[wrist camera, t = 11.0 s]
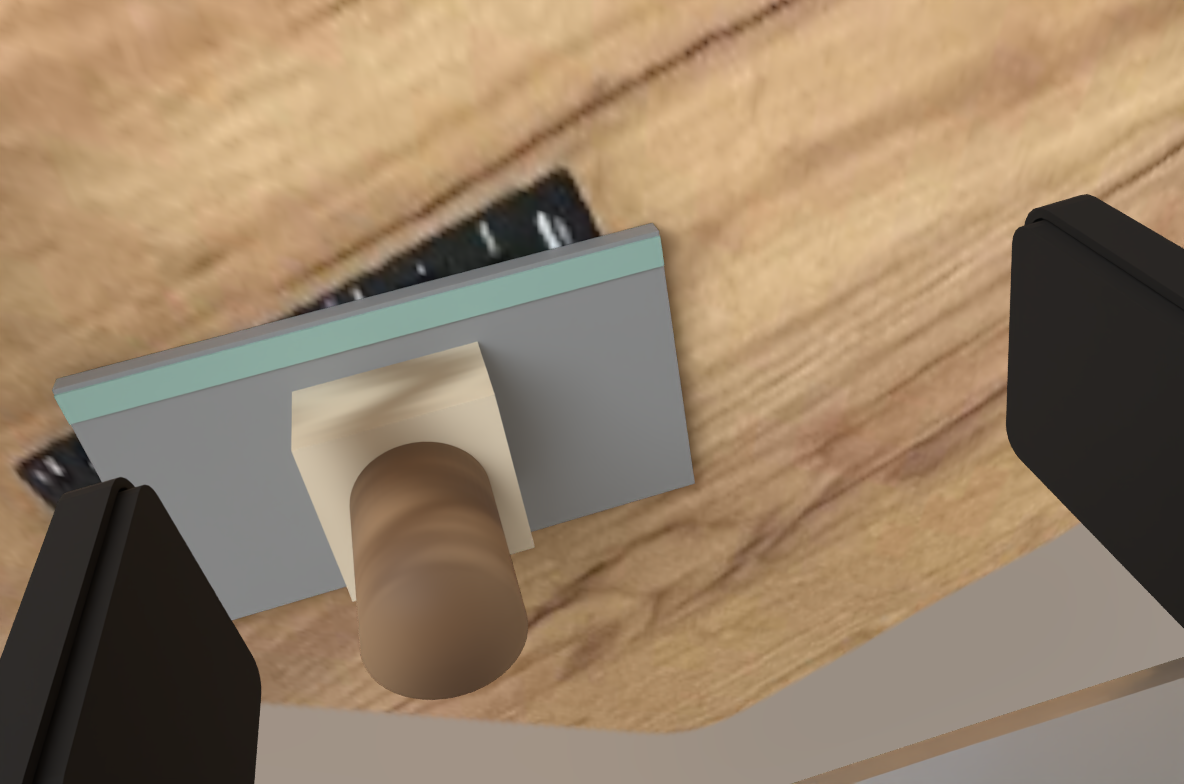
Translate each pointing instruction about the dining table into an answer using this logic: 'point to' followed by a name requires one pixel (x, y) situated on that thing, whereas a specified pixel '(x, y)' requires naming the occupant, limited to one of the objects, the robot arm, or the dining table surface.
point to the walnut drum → (433, 574)
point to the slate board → (385, 337)
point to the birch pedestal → (401, 436)
